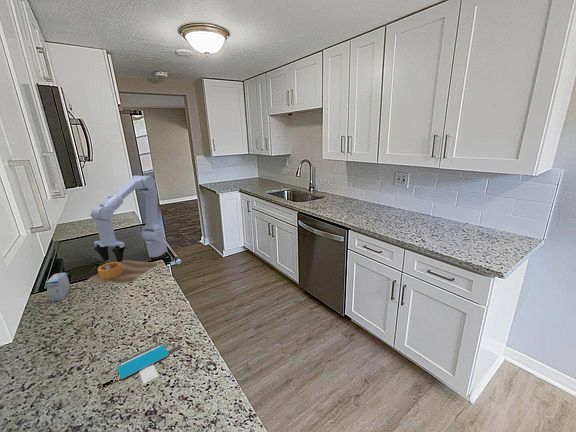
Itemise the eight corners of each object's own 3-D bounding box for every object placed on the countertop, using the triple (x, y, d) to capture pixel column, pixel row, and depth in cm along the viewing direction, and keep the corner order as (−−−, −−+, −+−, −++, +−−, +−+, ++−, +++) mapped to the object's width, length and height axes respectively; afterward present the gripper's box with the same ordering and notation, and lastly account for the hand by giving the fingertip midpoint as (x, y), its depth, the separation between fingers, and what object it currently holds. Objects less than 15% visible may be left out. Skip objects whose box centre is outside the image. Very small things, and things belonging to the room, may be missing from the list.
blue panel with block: (106, 406, 63) (105, 401, 63) (100, 375, 72) (99, 370, 72) (189, 361, 76) (188, 356, 75) (175, 339, 84) (174, 334, 84)
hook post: (109, 272, 125) (107, 265, 124) (113, 273, 125) (111, 265, 123) (106, 274, 123) (104, 267, 122) (109, 275, 123) (107, 267, 122)
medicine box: (59, 292, 113) (53, 273, 110) (71, 289, 114) (66, 271, 112) (50, 302, 106) (44, 283, 103) (64, 299, 107) (58, 280, 105)
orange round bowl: (111, 268, 129) (109, 261, 128) (127, 270, 127) (125, 262, 126) (95, 278, 121) (92, 270, 119) (111, 279, 119) (109, 271, 117)
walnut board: (123, 262, 139) (122, 259, 138) (159, 265, 134) (159, 262, 133) (88, 282, 120) (87, 279, 120) (129, 286, 115) (128, 283, 115)
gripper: (84, 235, 115) (92, 263, 119) (112, 236, 112) (119, 266, 116) (99, 229, 122) (106, 256, 126) (125, 231, 118) (131, 258, 122)
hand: (113, 260), depth 121 cm, fingers open, 7 cm apart
